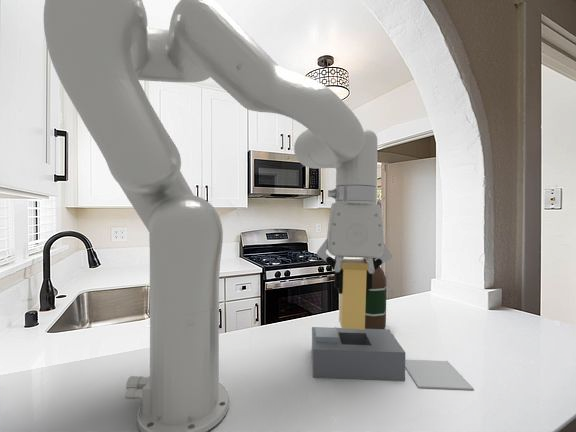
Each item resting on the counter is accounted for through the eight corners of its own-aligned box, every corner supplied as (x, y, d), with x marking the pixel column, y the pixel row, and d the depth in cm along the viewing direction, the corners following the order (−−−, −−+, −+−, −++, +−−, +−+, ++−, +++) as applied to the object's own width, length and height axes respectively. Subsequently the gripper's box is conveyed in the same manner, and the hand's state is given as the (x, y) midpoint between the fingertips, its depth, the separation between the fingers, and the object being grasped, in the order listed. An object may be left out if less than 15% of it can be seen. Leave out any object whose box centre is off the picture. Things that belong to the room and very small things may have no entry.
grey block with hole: (313, 377, 52) (313, 343, 52) (311, 350, 62) (311, 322, 62) (405, 380, 51) (405, 346, 51) (388, 353, 61) (389, 324, 61)
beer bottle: (382, 323, 78) (383, 232, 77) (389, 335, 70) (391, 235, 70) (352, 321, 79) (353, 232, 78) (356, 334, 71) (357, 234, 70)
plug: (340, 328, 54) (342, 262, 54) (337, 319, 59) (339, 258, 59) (366, 330, 54) (368, 263, 54) (361, 320, 59) (363, 259, 59)
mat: (418, 388, 49) (418, 386, 49) (400, 360, 58) (400, 359, 58) (473, 390, 49) (473, 388, 49) (447, 362, 58) (447, 360, 58)
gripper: (311, 194, 53) (308, 295, 53) (407, 196, 52) (403, 300, 52) (310, 196, 60) (308, 285, 61) (394, 199, 59) (391, 289, 60)
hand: (352, 291), depth 56 cm, fingers closed on plug, 4 cm apart
